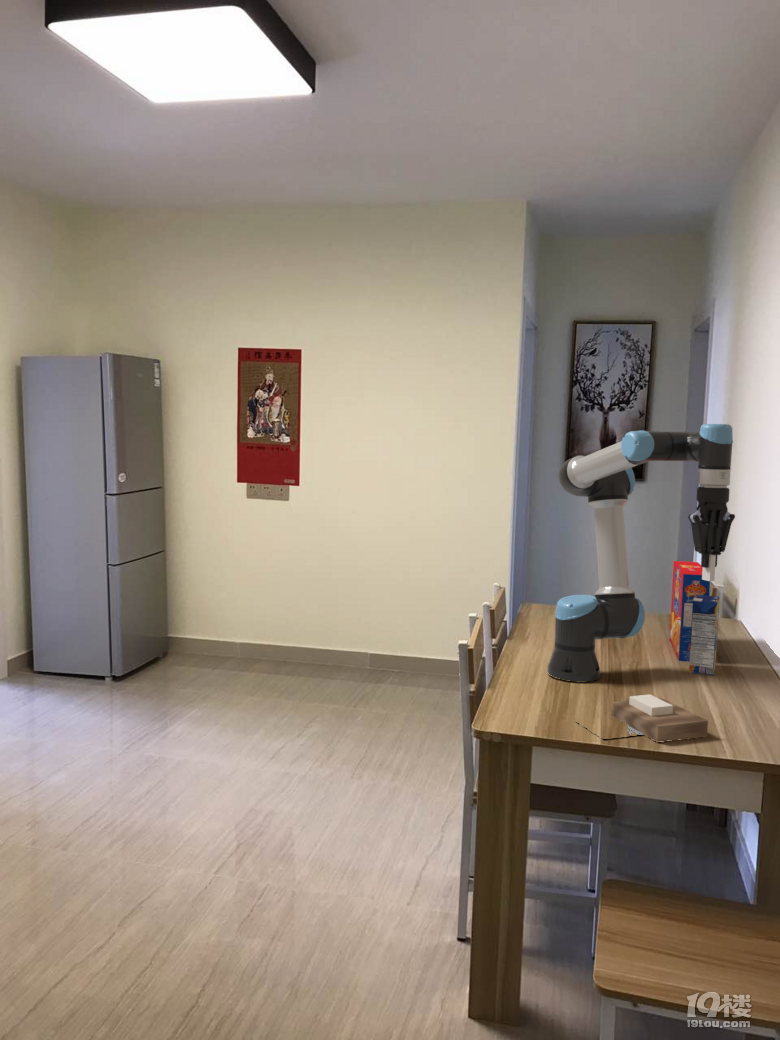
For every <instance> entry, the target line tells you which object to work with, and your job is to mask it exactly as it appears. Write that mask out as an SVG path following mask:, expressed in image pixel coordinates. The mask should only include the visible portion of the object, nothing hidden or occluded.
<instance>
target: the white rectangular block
mask: <svg viewBox="0 0 780 1040" xmlns="http://www.w3.org/2000/svg"><path fill="white" fill-rule="evenodd" d="M658 698H659V697H656V696H654V695H653V694H650V693H649V694H642V695H640V694H639V695H631V696H629V698H628V699H629V700H628V701H629V704H630V705H632V706H634V707H635V708H637V709H639V710H641V711H643V712H645V713H647V714H649V715H651V716H656V715H665V714H673V705H671V704H669V703H667V702H664V701H662V700H660V699H658Z"/></svg>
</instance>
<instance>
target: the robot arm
mask: <svg viewBox="0 0 780 1040" xmlns="http://www.w3.org/2000/svg"><path fill="white" fill-rule="evenodd" d="M733 443H734V440H733V427H732V425H730V424H727V423H726V424H725V423H703V424H702V425H701V426H700V429H699V432H697V431H660V430H659V431H658V430H657V431H655V430H653V431H652V430H640V429H639V430H632V431H628V432H627V433H626V434H624V437H622V440H621V441H619V442H616V443H614V444H612V445H609V446H607V447H604V448H602V449H600V450H597V451H594V452H592V453H590V454H588V455H587V454H586V455H576V456H573V457H571V458H569V459H567V460H566V461H564V462H563V464H561V466H560V468H559V471H558V482H559V484H560V486H561V488H562V489H563V490H564V491H566V492H567V493H568V494H570V495H572V496H576V497H580V498H581V497H584V498H585V497H587V502H588V505H589V506H590V507H592V509H593V513H594V517H593V518H594V529H595V541H596V557H597V559H596V560H597V572H598V586H599V588H598V589H597V590H596V591H595V592H594V595H590V594H572V595H568V596H564V597H562V598H560V599H559V600H558V601H557V602H556V608H555V614H554V617H555V621H554V623H555V627H554V629H555V630H554V649H553V651H552V654H551V657H550V659H549V662H548V665H547V672H548V673H549V674H550V675H552V676H554V677H557V678H560V679H564V680H570V681H592V682H595V681H594V680H596V681H598V680H600V678H601V669H600V668H601V667H600V664H599V662H598V658H597V654H596V641H597V640H607V639H609V640H611V639H625V638H630V637H635V636H636V635H637V634H639V633H640V631H641V630H642V629H643V626H644V623H645V617H646V613H645V611H646V610H645V606H644V605H643V603H642V601H641V600H640V599H639V598H637V597H636V594H635V591H634V589H632V588H631V587H630V585H629V584H630V583H629V570H628V567H629V566H628V558H627V554H628V553H627V544H626V543H627V541H626V529H625V514H624V513H625V511H624V506H625V505H626V504H627V503H628V502H629V496H630V495H631V494H633V491H634V488H635V485H636V479H635V478H636V477H635V473H634V471H633V468H635V467H636V466H640V465H642V464H646V463H648V462H698V466H697V467H698V468H697V485H699V486H698V487H697V488H696V501H697V503H698V505H697V507H696V511H695V512H694V513H692V514H691V513H689V514H688V515H687V518H688V520H689V522H690V526H691V527H690V528H691V533H692V540H693V547H694V552H696V553H698V554H701V559H700V560H701V561H700V562H701V563H700V565H701V567H703V570H702V580H706V581H710V582H715V578H716V577H715V575H716V568H717V565H718V556H721V555H722V553H724V552H725V551H726V547H727V543H728V540H729V536H730V531H731V526H732V523H733V521H735V520H734V519H736V515H735V513H734V514H733V513H730V512H729V511H728V505H727V504H728V502H730V488H729V487H728V486H730V484H731V469H732V468H731V466H732V454H733V452H732V451H733ZM548 673H547V674H548ZM597 679H598V680H597Z"/></svg>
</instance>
